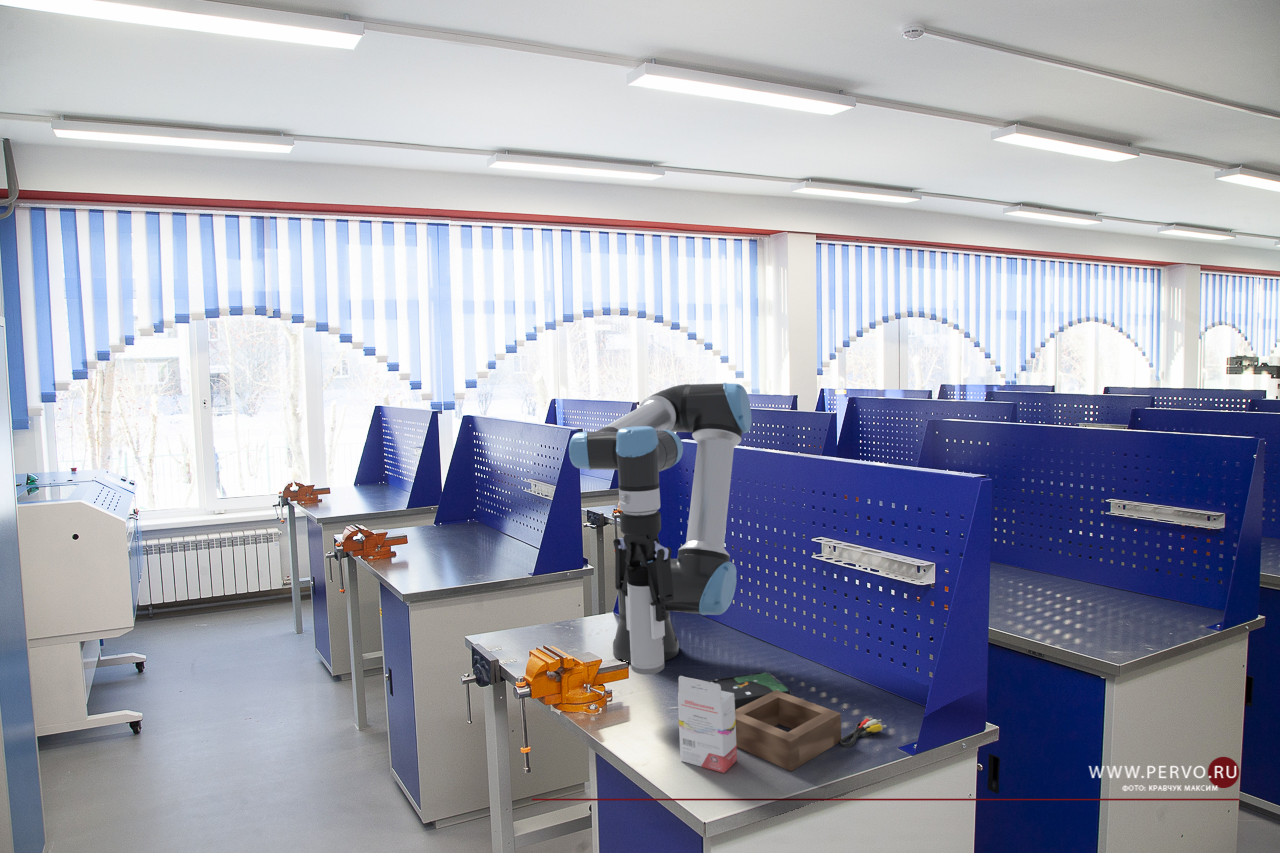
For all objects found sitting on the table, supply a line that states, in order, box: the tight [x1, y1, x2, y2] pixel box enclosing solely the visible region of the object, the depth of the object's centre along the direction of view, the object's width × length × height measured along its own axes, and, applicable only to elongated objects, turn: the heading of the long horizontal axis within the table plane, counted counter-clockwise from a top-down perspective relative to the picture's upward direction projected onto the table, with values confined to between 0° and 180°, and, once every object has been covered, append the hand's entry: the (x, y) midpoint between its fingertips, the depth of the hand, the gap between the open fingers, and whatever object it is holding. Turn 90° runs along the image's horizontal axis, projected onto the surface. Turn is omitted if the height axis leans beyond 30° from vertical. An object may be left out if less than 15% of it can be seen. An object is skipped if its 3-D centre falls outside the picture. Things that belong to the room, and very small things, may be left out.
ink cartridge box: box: [677, 675, 738, 774], centre depth 131 cm, size 9×5×15 cm, turn 56°
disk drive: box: [706, 672, 792, 710], centre depth 156 cm, size 10×3×15 cm
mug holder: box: [735, 690, 842, 772], centre depth 137 cm, size 14×14×5 cm
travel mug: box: [626, 564, 665, 675], centre depth 147 cm, size 6×7×20 cm
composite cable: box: [839, 717, 888, 748], centre depth 138 cm, size 10×5×2 cm, turn 120°
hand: (645, 632), depth 147 cm, fingers closed on travel mug, 6 cm apart
